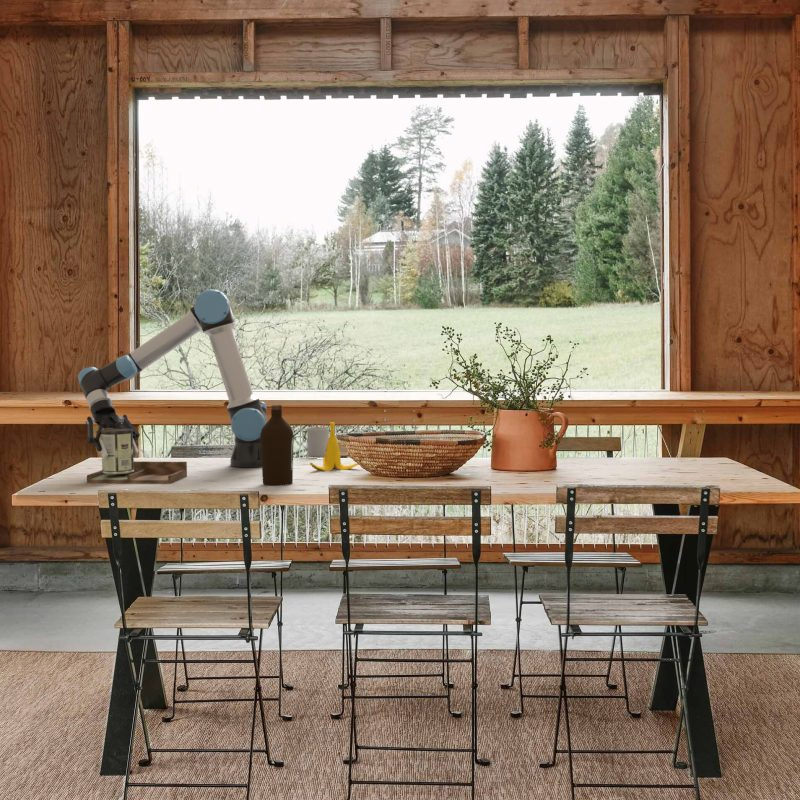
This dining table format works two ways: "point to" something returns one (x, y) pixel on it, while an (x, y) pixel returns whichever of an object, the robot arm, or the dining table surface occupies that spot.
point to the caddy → (144, 473)
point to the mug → (317, 441)
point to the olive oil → (277, 450)
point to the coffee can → (118, 451)
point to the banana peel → (332, 454)
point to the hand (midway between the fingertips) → (121, 456)
